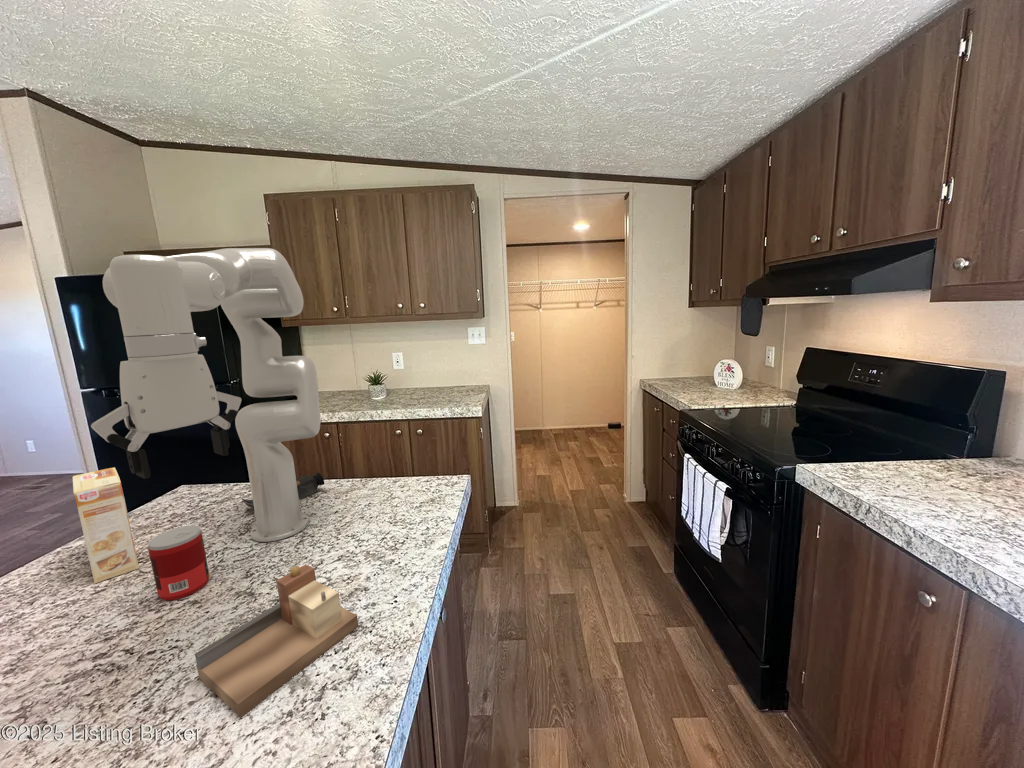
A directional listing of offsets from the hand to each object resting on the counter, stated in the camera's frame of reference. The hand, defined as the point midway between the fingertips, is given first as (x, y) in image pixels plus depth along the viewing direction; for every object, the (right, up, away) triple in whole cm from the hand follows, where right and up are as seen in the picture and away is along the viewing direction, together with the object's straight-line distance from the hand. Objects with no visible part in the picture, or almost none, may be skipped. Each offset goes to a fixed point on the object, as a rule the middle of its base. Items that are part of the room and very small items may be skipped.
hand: (185, 464), depth 61 cm
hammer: (-16, -22, +58) cm, 64 cm away
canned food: (-16, -28, +20) cm, 38 cm away
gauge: (+16, -26, +7) cm, 31 cm away
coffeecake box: (-39, -28, +30) cm, 56 cm away
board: (+13, -29, +3) cm, 32 cm away
